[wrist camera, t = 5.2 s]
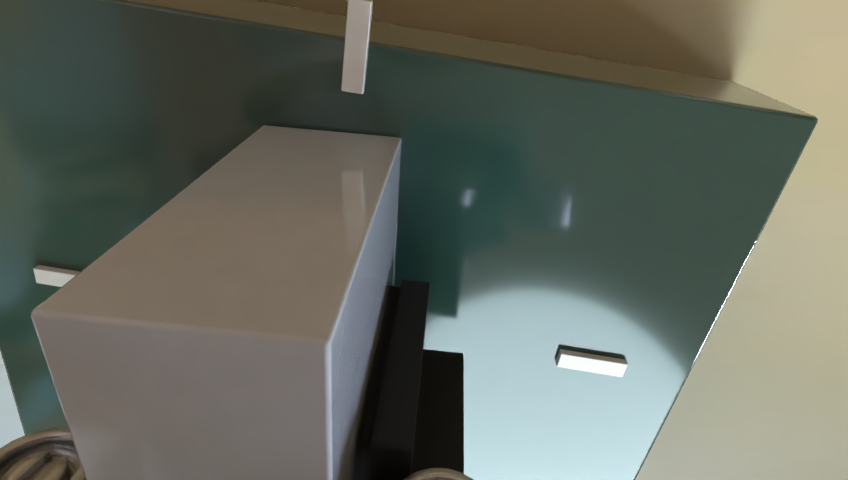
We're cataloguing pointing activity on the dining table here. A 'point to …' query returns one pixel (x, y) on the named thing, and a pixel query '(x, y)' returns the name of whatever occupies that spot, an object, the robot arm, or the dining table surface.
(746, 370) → the dining table surface
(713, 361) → the dining table surface
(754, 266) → the dining table surface
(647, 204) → the plate
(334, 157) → the tap handle
